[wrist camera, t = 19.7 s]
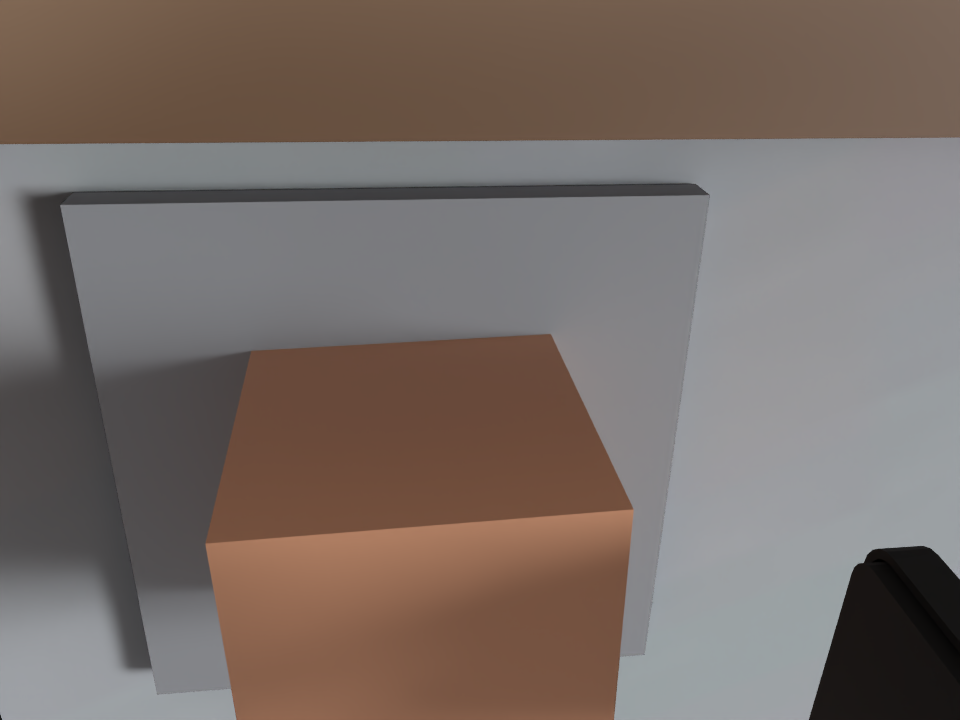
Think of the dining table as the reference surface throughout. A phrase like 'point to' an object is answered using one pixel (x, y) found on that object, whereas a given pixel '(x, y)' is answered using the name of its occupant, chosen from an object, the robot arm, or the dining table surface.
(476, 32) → the board
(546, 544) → the block
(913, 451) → the dining table surface
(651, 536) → the pad
